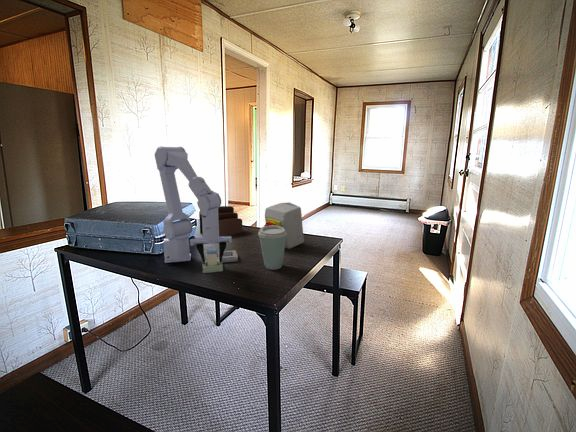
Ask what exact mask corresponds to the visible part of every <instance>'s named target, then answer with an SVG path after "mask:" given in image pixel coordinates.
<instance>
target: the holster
mask: <svg viewBox="0 0 576 432" xmlns="http://www.w3.org/2000/svg"><path fill="white" fill-rule="evenodd" d="M201 261H202V260H201ZM223 271H224V266H223V263H222V262H221V263H220V262H219V260H217V265H215V266H208V263H207V261H206V260H205V264H203V261H202V273H203V274H205V273H206V274H207V273H217V272H218V273H219V272H223Z"/></svg>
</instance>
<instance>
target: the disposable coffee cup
mask: <svg viewBox="0 0 576 432" xmlns="http://www.w3.org/2000/svg"><path fill="white" fill-rule="evenodd" d="M257 233H258V234H257V236H259V242H260V247H261V253H262V259H263V263H264V267H265V268H266V269H268V270H278V269H281V268H282V266H283V264H284V256H285V249H286V248H285V242H286V235H287V232H286V231H285V229H284V228H283V227H280V226H275V225H271V226H264V225H263V226H262V227H261V228H259V231H258V232H257Z"/></svg>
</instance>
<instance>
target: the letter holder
mask: <svg viewBox="0 0 576 432" xmlns="http://www.w3.org/2000/svg"><path fill="white" fill-rule="evenodd" d="M198 213H199V214H198V218H199V234H201V235H202V237H203V229H202V215H201V213H200V211H199V212H198ZM218 220H219V236H225V237H229V236H233V235H237V234H242V233H243V231H244V229H243V219H242V218H239V214H238V212H235V208H234V206H232V205H229V206H228V205H223V206H222V205H221V206H220V207H219V208H218ZM201 235H200V236H201Z"/></svg>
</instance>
